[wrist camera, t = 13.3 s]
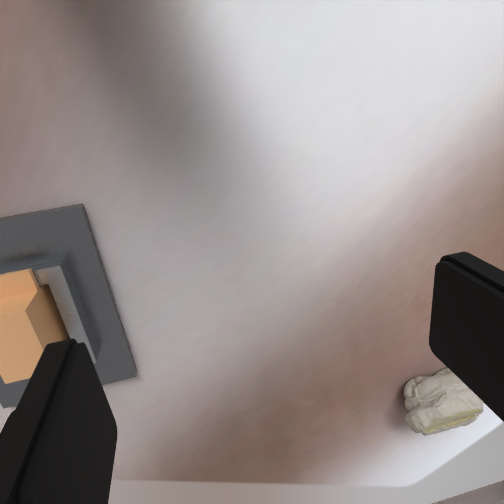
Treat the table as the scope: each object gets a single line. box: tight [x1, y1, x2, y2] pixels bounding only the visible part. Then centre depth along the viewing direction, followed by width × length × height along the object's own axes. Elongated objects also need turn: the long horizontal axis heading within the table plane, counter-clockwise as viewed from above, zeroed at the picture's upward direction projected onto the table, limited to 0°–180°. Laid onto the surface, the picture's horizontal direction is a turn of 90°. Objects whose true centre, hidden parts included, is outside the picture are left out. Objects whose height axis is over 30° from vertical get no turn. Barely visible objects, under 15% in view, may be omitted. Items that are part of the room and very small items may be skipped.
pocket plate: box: [0, 204, 137, 408], centre depth 36 cm, size 20×14×3 cm
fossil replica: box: [404, 367, 483, 435], centre depth 50 cm, size 12×8×10 cm
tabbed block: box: [0, 268, 69, 384], centre depth 34 cm, size 10×4×6 cm, turn 8°
